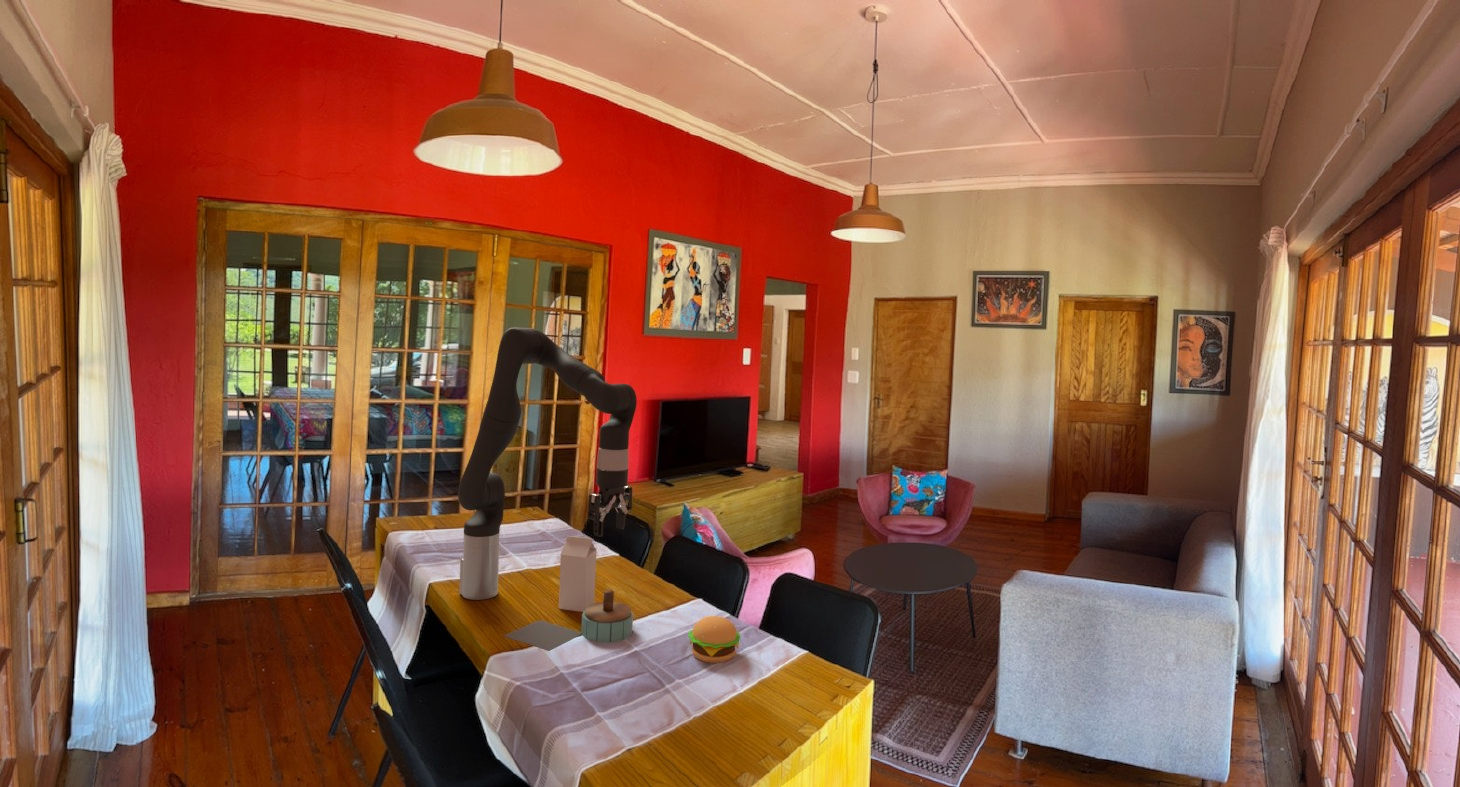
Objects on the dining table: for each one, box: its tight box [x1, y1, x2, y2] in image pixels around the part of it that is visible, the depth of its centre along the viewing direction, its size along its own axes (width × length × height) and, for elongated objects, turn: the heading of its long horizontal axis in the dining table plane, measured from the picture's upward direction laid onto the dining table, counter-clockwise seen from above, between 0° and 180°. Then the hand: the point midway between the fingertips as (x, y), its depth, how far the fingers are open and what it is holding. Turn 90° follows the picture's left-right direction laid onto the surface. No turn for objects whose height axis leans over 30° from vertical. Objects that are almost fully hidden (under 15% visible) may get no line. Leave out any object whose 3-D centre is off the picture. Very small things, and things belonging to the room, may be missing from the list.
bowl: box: [580, 610, 634, 643], centre depth 177 cm, size 12×12×5 cm
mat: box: [503, 619, 582, 652], centre depth 173 cm, size 14×12×1 cm
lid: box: [585, 589, 632, 623], centre depth 176 cm, size 11×11×6 cm
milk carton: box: [558, 535, 597, 613], centre depth 192 cm, size 7×7×19 cm
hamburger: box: [688, 615, 741, 664], centre depth 168 cm, size 12×12×9 cm
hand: (609, 532), depth 176 cm, fingers open, 8 cm apart
